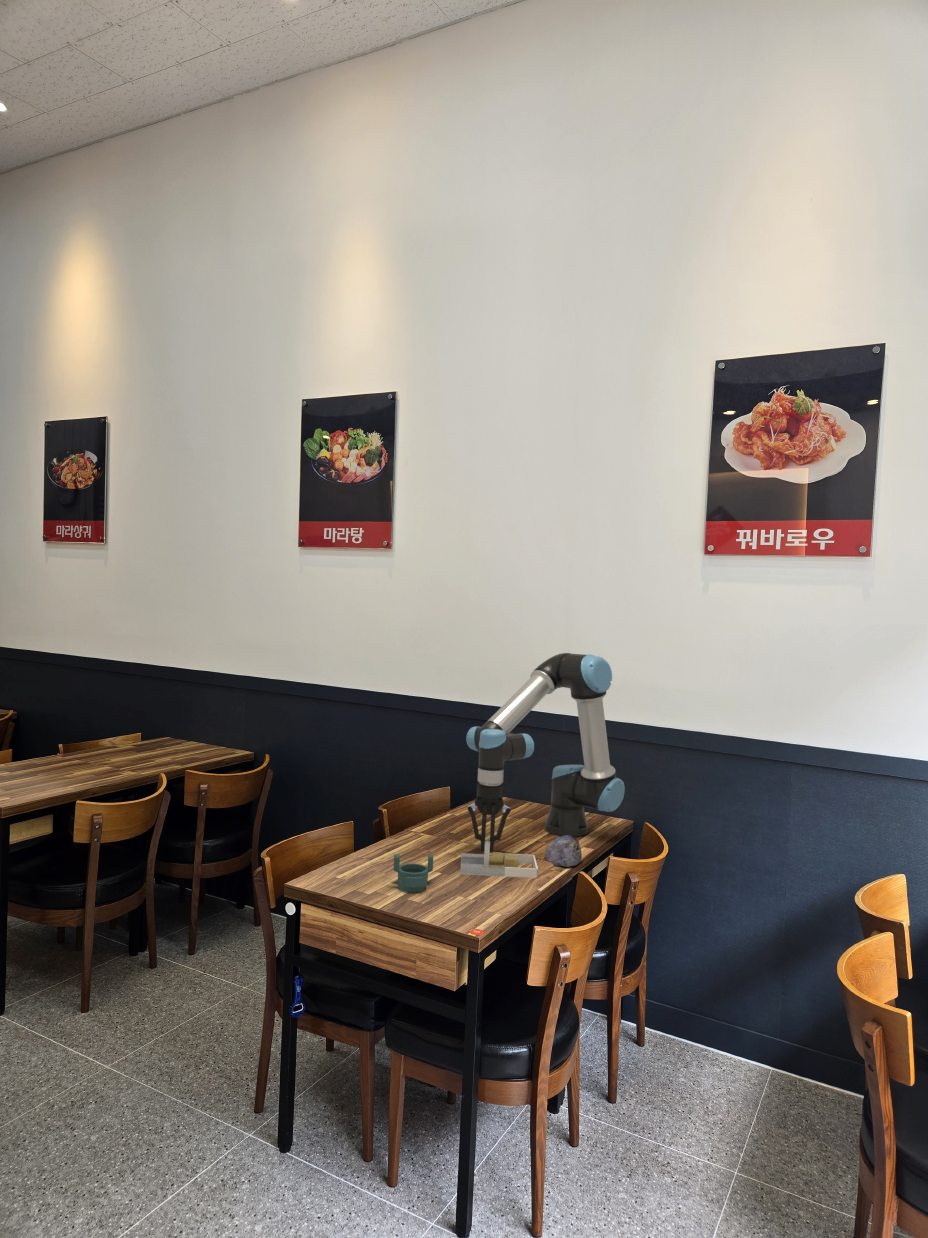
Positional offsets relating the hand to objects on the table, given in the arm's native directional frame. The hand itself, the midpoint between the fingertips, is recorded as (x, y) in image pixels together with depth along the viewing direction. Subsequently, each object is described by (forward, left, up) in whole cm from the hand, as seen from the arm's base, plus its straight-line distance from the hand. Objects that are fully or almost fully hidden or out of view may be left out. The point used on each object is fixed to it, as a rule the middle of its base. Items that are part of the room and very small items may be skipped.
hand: (486, 863), depth 228 cm
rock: (-24, -11, -3) cm, 26 cm away
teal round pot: (+20, +16, -3) cm, 26 cm away
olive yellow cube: (-3, 0, -1) cm, 3 cm away
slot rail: (+1, 0, -2) cm, 3 cm away
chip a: (-7, +1, -2) cm, 7 cm away
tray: (-10, 0, -2) cm, 10 cm away
